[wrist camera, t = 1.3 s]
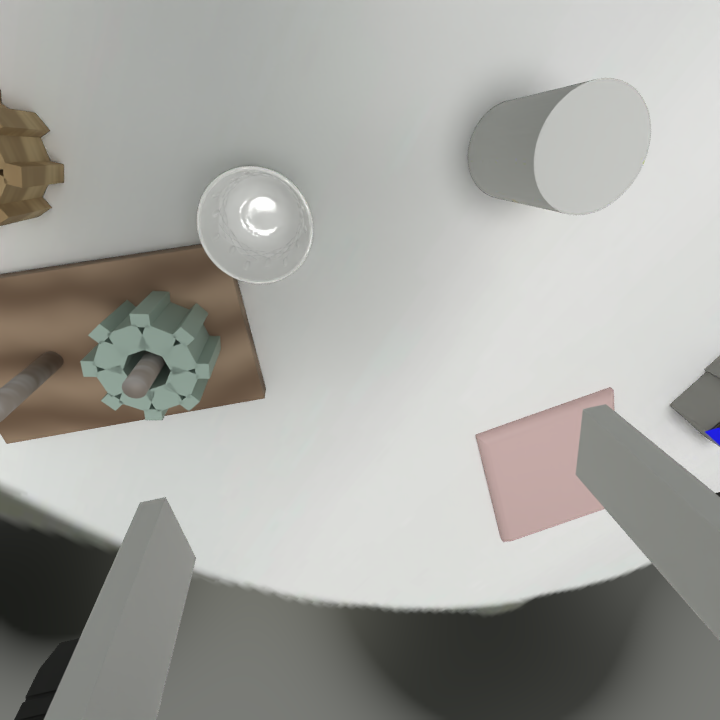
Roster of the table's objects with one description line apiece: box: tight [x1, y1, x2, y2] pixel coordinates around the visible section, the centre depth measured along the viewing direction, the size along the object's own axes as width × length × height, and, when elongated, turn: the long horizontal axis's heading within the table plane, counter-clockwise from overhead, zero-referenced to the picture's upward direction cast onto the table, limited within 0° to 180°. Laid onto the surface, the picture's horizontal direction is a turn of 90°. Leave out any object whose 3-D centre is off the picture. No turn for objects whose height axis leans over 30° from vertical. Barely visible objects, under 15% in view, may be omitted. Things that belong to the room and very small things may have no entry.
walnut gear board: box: [0, 244, 266, 444], centre depth 37 cm, size 16×26×11 cm, turn 97°
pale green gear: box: [80, 291, 221, 420], centre depth 37 cm, size 10×10×6 cm
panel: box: [476, 387, 614, 542], centre depth 56 cm, size 35×33×2 cm
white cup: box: [197, 166, 313, 284], centre depth 34 cm, size 8×8×10 cm
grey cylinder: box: [468, 78, 651, 215], centre depth 33 cm, size 8×8×12 cm
